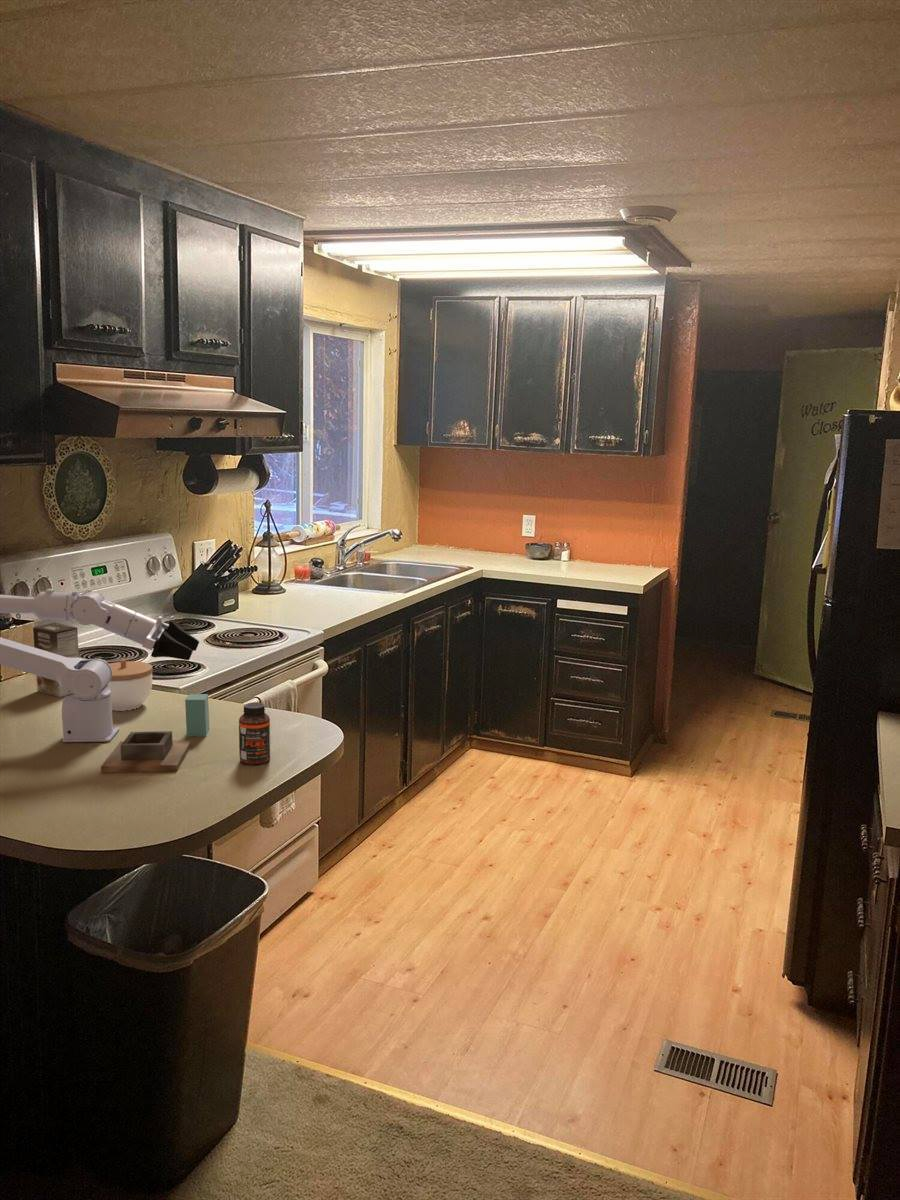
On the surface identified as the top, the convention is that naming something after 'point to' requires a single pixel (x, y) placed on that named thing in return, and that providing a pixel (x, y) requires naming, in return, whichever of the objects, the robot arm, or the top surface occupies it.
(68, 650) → the coffee box
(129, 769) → the end holder
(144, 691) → the lidded bowl
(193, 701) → the block
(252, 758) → the supplement bottle
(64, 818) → the top surface
